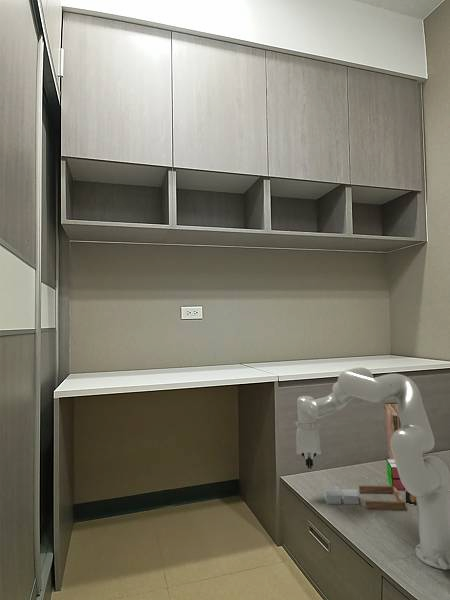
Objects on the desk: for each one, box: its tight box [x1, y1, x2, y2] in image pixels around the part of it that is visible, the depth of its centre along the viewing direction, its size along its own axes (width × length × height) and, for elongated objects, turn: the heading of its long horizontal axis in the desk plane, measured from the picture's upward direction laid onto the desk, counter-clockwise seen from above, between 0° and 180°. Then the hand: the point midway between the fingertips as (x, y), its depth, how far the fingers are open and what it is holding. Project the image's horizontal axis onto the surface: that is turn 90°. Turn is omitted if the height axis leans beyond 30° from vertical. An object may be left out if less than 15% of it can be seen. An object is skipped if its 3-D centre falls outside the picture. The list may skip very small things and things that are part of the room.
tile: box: [341, 488, 360, 505], centre depth 161 cm, size 6×6×4 cm
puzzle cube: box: [385, 458, 405, 491], centre depth 172 cm, size 10×10×10 cm
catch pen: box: [358, 485, 407, 511], centre depth 159 cm, size 15×15×3 cm
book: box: [383, 402, 402, 459], centre depth 192 cm, size 25×9×30 cm, turn 165°
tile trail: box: [323, 488, 342, 505], centre depth 163 cm, size 6×6×4 cm
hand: (309, 467), depth 165 cm, fingers closed
